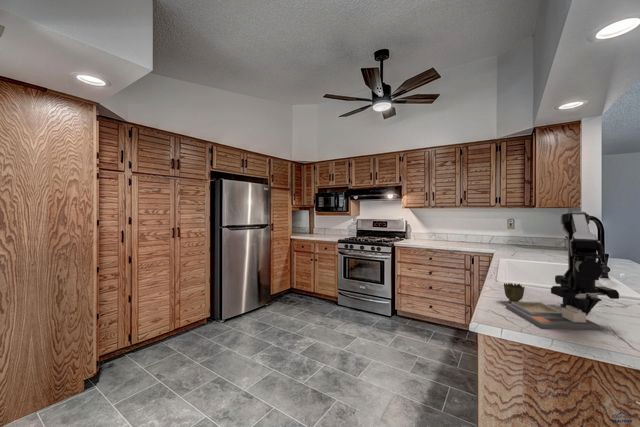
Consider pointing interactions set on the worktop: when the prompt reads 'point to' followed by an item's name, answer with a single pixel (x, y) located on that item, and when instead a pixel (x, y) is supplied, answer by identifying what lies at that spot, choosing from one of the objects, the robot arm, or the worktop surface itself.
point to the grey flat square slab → (554, 320)
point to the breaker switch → (573, 314)
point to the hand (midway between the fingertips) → (583, 316)
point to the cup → (513, 292)
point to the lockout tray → (537, 309)
